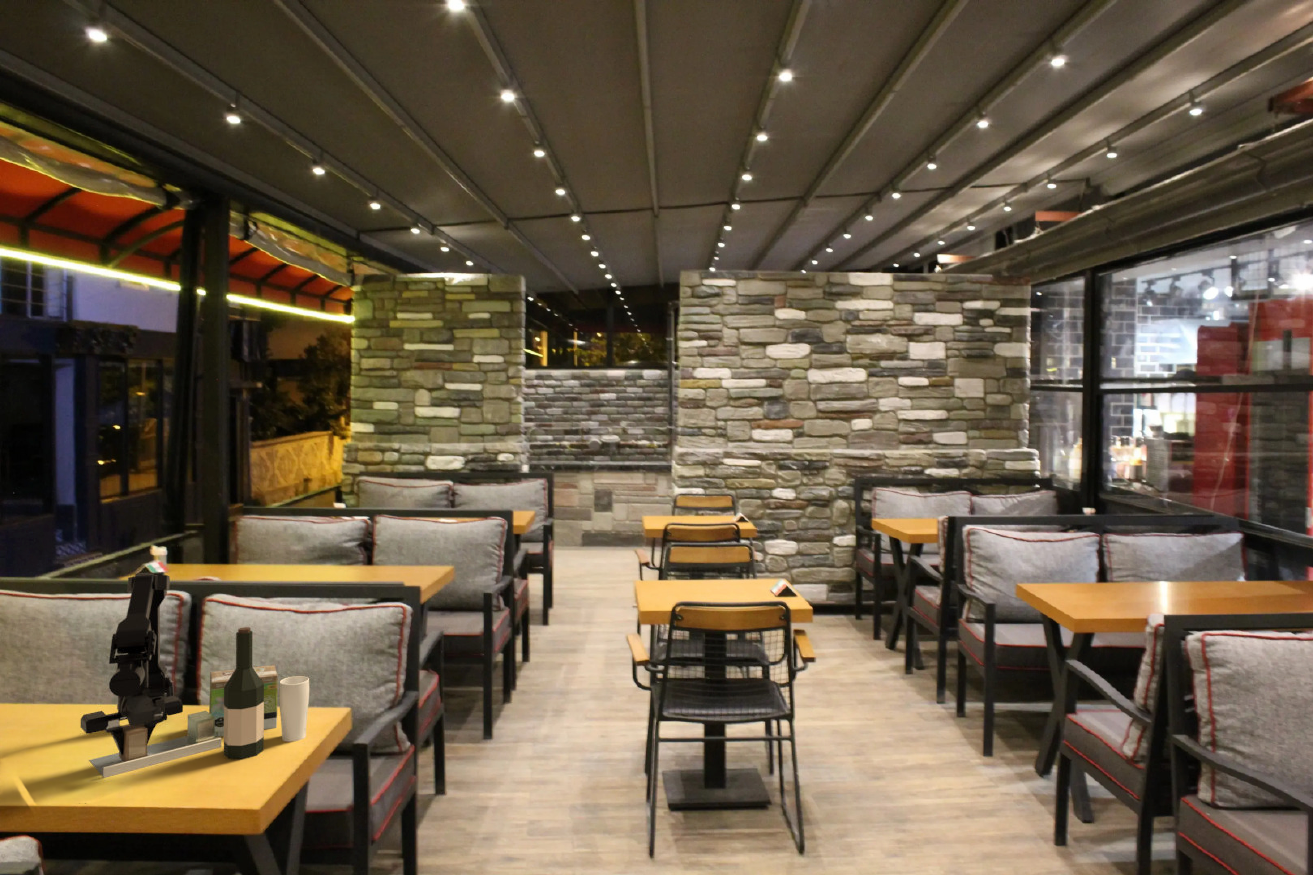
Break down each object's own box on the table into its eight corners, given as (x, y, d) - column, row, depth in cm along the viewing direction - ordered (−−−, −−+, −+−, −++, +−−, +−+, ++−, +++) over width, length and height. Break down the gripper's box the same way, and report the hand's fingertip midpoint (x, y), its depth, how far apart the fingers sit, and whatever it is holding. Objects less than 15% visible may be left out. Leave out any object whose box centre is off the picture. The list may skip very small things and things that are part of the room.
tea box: (209, 742, 196) (209, 682, 196) (208, 729, 205) (209, 671, 205) (277, 731, 204) (278, 673, 204) (274, 718, 213) (274, 662, 212)
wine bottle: (271, 753, 191) (272, 626, 190) (240, 766, 183) (240, 634, 182) (247, 746, 194) (247, 622, 194) (215, 759, 186) (215, 630, 186)
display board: (202, 735, 200) (202, 723, 200) (221, 750, 191) (221, 738, 191) (89, 764, 183) (89, 751, 183) (104, 782, 174) (104, 768, 174)
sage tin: (187, 743, 193) (187, 714, 193) (205, 739, 196) (205, 710, 196) (196, 751, 189) (196, 721, 189) (214, 746, 192) (214, 717, 191)
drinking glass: (315, 737, 200) (315, 677, 200) (294, 748, 194) (295, 685, 193) (293, 734, 202) (293, 674, 202) (272, 744, 196) (272, 682, 196)
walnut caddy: (119, 756, 183) (119, 726, 183) (139, 751, 186) (139, 721, 185) (126, 765, 178) (126, 733, 178) (147, 759, 181) (147, 728, 181)
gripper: (92, 701, 169) (92, 775, 170) (191, 681, 183) (190, 749, 183) (79, 689, 177) (79, 759, 177) (175, 670, 191) (174, 736, 191)
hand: (133, 751), depth 182 cm, fingers closed on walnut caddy, 4 cm apart
